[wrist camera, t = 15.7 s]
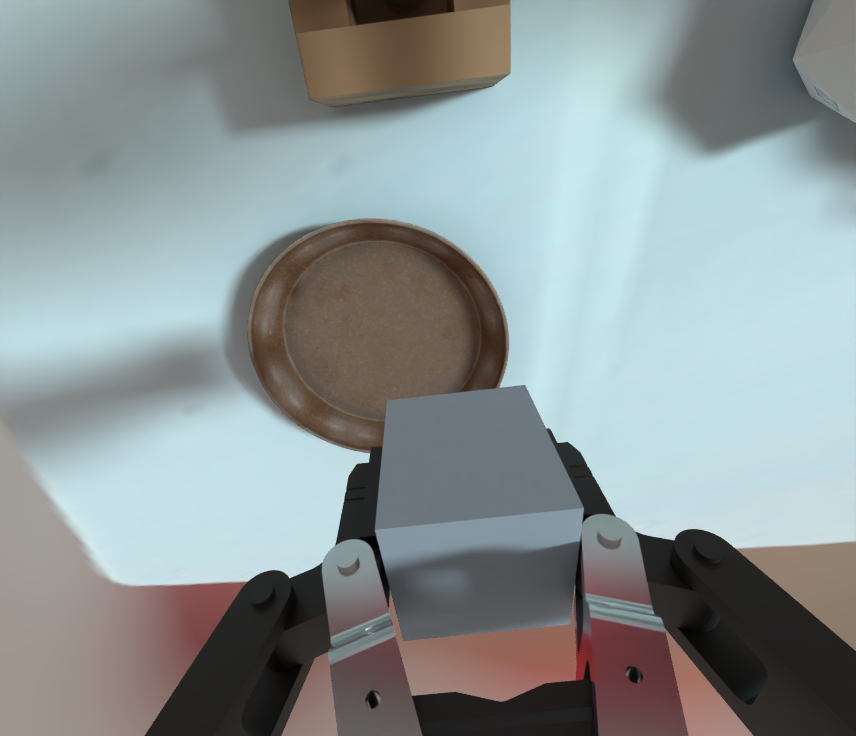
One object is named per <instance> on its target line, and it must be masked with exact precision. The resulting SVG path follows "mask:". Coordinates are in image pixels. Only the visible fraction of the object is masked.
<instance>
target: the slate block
mask: <svg viewBox="0 0 856 736" xmlns="http://www.w3.org/2000/svg"><path fill="white" fill-rule="evenodd" d="M583 512H584V507H583V505H582V503H581V501H580V499H579V497H578V494H577V492H576V490H575V488H574V486H573V484H572V482H571V480H570V478H569V476H568V474H567V472H566V469H565V467H564V465H563V463H562V461H561V459H560V457H559V455H558V453H557V451H556V449H555V447H554V444H553V442H552V440H551V438H550V436H549V434H548V432H547V430H546V428H545V426H544V424H543V421H542V419H541V417H540V415H539V413H538V411H537V409H536V407H535V405H534V403H533V401H532V399H531V396H530V394H529V392H528V390H527V388H526V386H525V385H522V386H513V387H504V388H495V389H486V390H477V391H468V392H459V393H450V394H441V395H432V396H423V397H414V398H405V399H396V400H387V406H386V417H385V427H384V438H383V449H382V459H381V470H380V480H379V491H378V501H377V512H376V523H375V533H376V536H377V540H378V544H379V548H380V552H381V556H382V560H383V564H384V567H385V571H386V575H387V579H388V583H389V587H390V590H391V595H392V598H393V602H394V606H395V610H396V614H397V618H398V622H399V625H400V629H401V633H402V637H403V641H407V640H417V639H427V638H437V637H447V636H458V635H468V634H477V633H488V632H498V631H508V630H519V629H529V628H538V627H548V626H559V625H569V624H570V619H571V610H572V602H573V594H574V586H575V578H576V569H577V561H578V553H579V545H580V537H581V529H582V520H583Z"/></svg>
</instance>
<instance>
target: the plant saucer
mask: <svg viewBox="0 0 856 736" xmlns="http://www.w3.org/2000/svg"><path fill="white" fill-rule="evenodd" d="M247 334H248V344H249V351H250V355H251V359H252V362H253V365H254V368H255V371H256V373H257V375H258V377H259V380H260V381H261V383H262V385H263V387H264V388H265V390H266V392H267V393H268V395H269V396H270V397H271V399H272V400H273V401H274V403H275V404H276V405H277V406H278V407H279V408H280V409H281V410H282V411H283V412H284V414H286V415H287V416H288V417H289V418H290V419H291V420H292V421H294V422H295V423H296V424H297V425H299V426H300V427H302V428H303V429H305V430H306V431H308V432H309V433H311V434H313V435H314V436H316V437H318V438H320V439H322V440H325V441H326V442H329V443H331V444H334V445H337V446H340V447H342V448H346V449H350V450H354V451H359V452H364V453H370V452H371V447H375V446H383V438H384V427H385V417H386V406H387V400H396V399H405V398H414V397H423V396H432V395H441V394H450V393H459V392H468V391H477V390H486V389H495V388H499V387H500V384H501V382H502V379H503V376H504V373H505V370H506V366H507V361H508V352H509V334H508V325H507V320H506V316H505V312H504V309H503V306H502V303H501V301H500V298H499V296H498V294H497V292H496V290H495V288H494V287H493V285H492V283H491V282H490V280H489V278H488V277H487V275H486V274H485V273H484V271H483V270H482V269H481V268H480V267H479V266H478V264H477V263H476V262H475V261H474V260H473V259H472V258H471V257H470V256H469V255H467V254H466V253H465V252H464V251H463V250H461V249H460V248H459V247H457V246H456V245H455V244H453V243H452V242H450V241H449V240H447V239H445V238H444V237H442V236H440V235H438V234H436V233H434V232H432V231H429V230H427V229H424V228H422V227H419V226H416V225H412V224H409V223H404V222H400V221H395V220H387V219H355V220H348V221H343V222H338V223H334V224H330V225H327V226H325V227H322V228H319V229H317V230H314V231H312V232H310V233H308V234H306V235H305V236H303V237H301V238H300V239H298V240H296V241H295V242H294V243H292V244H291V245H290V246H288V247H287V248H286V249H285V250H284V251H283V252H282V253H280V254H279V255H278V256H277V257H276V259H275V260H274V261H273V262H272V263H271V264H270V266H269V267H268V268H267V270H266V271H265V273H264V274H263V276H262V278H261V279H260V281H259V283H258V285H257V288H256V290H255V292H254V295H253V299H252V302H251V305H250V310H249V316H248V331H247Z"/></svg>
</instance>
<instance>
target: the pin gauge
mask: <svg viewBox="0 0 856 736" xmlns="http://www.w3.org/2000/svg"><path fill="white" fill-rule="evenodd" d="M383 1H384V3H385V4H386V5H387V6H388V7H389V8H390V9H391V10H392V11H394V12H396V13H399V14H407V13H411V12H413V11H414V10H416V9H417V8H418V7H419V6H420V5H421V3H422V2H423V0H383Z"/></svg>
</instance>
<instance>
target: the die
mask: <svg viewBox="0 0 856 736" xmlns="http://www.w3.org/2000/svg"><path fill="white" fill-rule="evenodd" d="M792 60H793V62H794V64H795V66H796V68H797V70H798V72H799V74H800V77H801V79H802V81H803V83H804V85H805V87H806V89H807V91H808V93H809V95H810V96H811V97H812V98H814V99H816V100H817V101H819V102H821V103H823V104H824V105H826V106H828V107H829V108H831V109H833V110H834V111H836V112H838V113H839V114H841V115H843V116H845V117H846V118H848V119H850V120H851V121H853V122H855V123H856V0H813V3H812V5H811V8H810V11H809V14H808V17H807V20H806V22H805V25H804V28H803V31H802V34H801V37H800V39H799V42H798V45H797V48H796V51H795V54H794V57H793V59H792Z"/></svg>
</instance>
